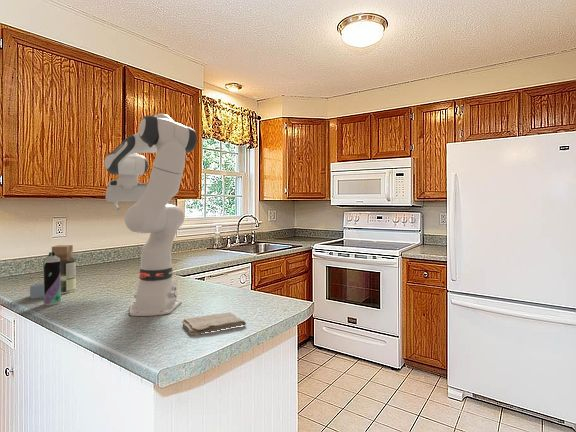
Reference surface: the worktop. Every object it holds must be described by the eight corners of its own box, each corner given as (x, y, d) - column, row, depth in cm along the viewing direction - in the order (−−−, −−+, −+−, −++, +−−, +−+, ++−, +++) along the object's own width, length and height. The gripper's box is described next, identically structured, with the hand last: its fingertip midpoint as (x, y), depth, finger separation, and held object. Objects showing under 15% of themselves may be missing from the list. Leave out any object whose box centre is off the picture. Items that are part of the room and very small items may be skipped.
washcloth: (180, 326, 118) (180, 317, 118) (231, 318, 127) (231, 309, 127) (191, 338, 108) (191, 328, 108) (246, 328, 117) (246, 318, 117)
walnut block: (67, 260, 158) (66, 246, 157) (51, 260, 156) (51, 246, 156) (72, 258, 163) (72, 245, 163) (58, 258, 162) (57, 245, 162)
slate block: (44, 297, 150) (44, 285, 150) (30, 298, 148) (29, 286, 148) (46, 294, 155) (46, 282, 155) (32, 295, 153) (32, 283, 153)
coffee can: (52, 295, 153) (52, 262, 153) (45, 291, 160) (45, 259, 160) (79, 291, 161) (79, 259, 160) (71, 287, 168) (71, 257, 167)
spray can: (48, 306, 137) (47, 253, 137) (41, 304, 140) (40, 252, 140) (63, 302, 142) (62, 251, 141) (56, 300, 145) (55, 250, 144)
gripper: (152, 183, 183) (152, 211, 183) (108, 182, 179) (108, 210, 180) (149, 182, 176) (149, 211, 177) (104, 181, 173) (104, 211, 173)
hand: (128, 211), depth 178 cm, fingers open, 8 cm apart
